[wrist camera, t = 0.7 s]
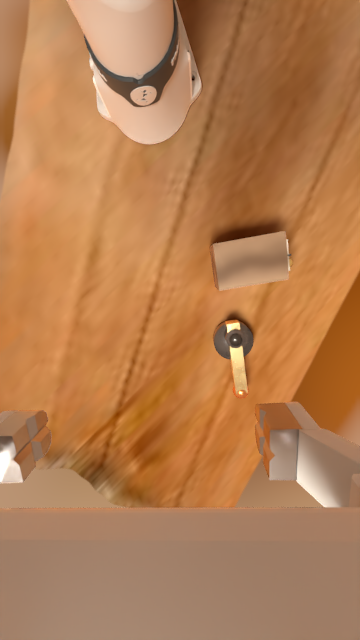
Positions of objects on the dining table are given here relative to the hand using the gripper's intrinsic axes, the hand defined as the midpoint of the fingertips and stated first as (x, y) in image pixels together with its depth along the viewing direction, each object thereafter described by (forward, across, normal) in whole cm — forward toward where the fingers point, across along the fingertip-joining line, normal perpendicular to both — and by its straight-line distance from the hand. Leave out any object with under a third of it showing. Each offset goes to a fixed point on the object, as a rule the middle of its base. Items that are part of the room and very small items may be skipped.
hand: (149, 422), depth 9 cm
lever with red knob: (+43, -10, +13) cm, 46 cm away
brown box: (+43, -12, -6) cm, 45 cm away
